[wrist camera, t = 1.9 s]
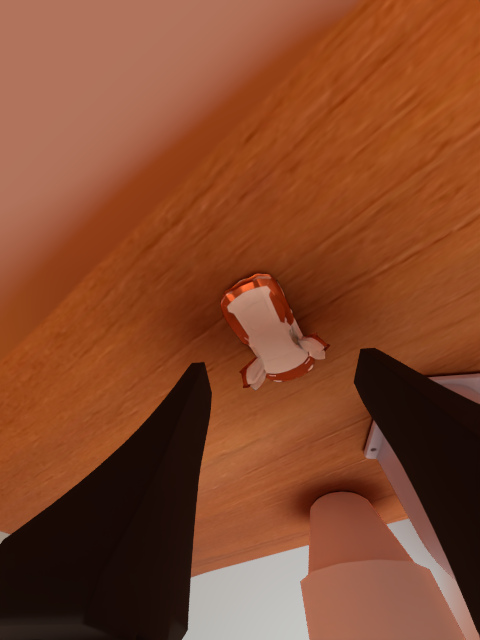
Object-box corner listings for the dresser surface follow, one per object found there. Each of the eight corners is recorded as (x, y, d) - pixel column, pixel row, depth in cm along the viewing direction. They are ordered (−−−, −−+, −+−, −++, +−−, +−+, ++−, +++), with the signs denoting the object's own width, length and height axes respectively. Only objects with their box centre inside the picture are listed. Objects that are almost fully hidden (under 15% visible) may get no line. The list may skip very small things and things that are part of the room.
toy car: (261, 384, 16) (266, 422, 13) (203, 295, 12) (192, 321, 10) (330, 358, 15) (351, 394, 12) (286, 252, 11) (300, 268, 9)
